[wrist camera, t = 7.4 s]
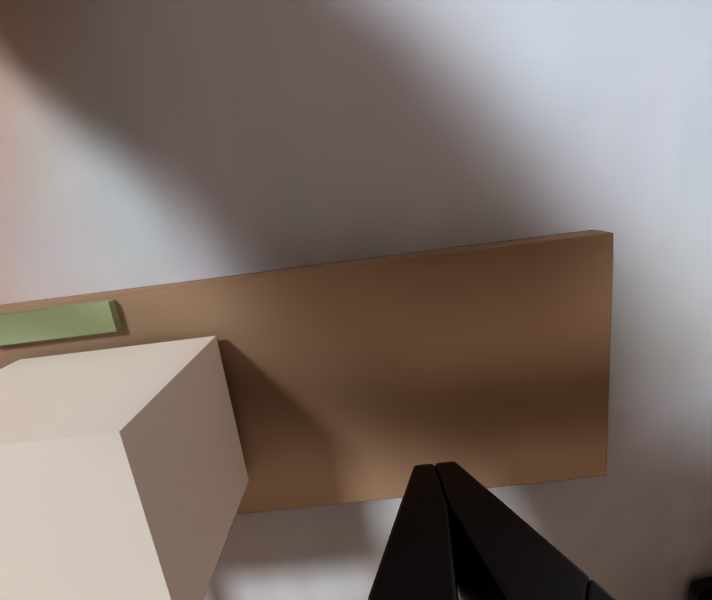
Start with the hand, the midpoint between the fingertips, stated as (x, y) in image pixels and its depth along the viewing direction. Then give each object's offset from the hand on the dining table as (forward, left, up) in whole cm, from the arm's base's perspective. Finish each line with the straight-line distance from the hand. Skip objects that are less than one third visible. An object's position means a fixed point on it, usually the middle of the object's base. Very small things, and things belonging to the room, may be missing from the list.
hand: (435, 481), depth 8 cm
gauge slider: (-2, +8, -4) cm, 10 cm away
